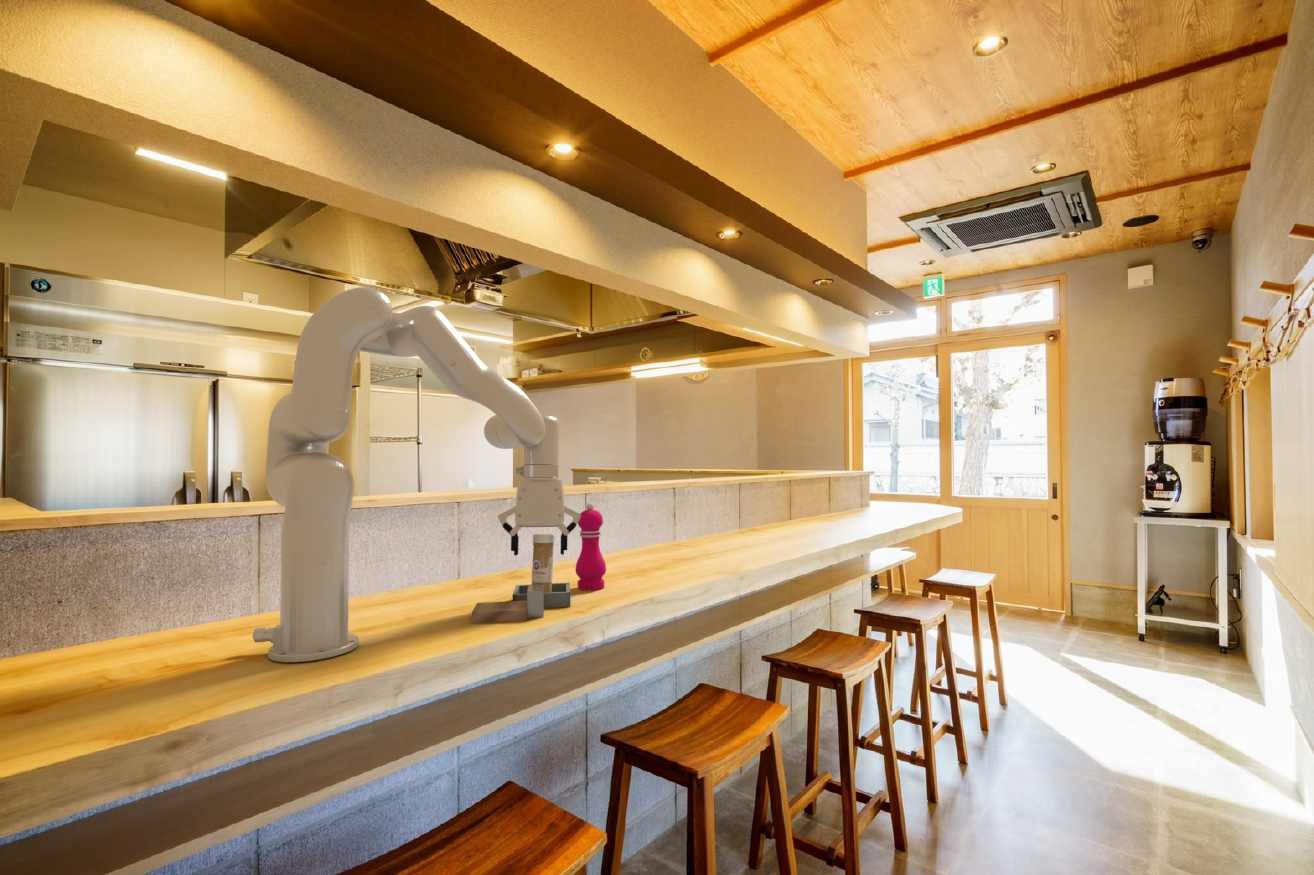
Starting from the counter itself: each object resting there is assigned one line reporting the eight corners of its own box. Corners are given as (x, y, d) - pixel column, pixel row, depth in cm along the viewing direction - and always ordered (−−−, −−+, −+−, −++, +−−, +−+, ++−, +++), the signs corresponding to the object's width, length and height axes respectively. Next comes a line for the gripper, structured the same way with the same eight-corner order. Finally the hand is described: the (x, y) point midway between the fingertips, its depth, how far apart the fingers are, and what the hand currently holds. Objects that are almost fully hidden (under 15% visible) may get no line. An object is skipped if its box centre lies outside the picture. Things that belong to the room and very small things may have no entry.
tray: (512, 609, 123) (512, 595, 123) (516, 598, 134) (515, 585, 134) (570, 606, 125) (570, 592, 125) (569, 595, 136) (569, 582, 136)
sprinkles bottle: (526, 598, 128) (529, 533, 129) (536, 596, 132) (538, 533, 134) (546, 599, 127) (549, 534, 128) (556, 596, 131) (558, 533, 133)
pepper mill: (608, 585, 147) (607, 501, 148) (603, 591, 140) (602, 503, 141) (579, 584, 148) (578, 502, 149) (572, 591, 141) (571, 504, 142)
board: (471, 626, 113) (471, 612, 113) (477, 615, 121) (477, 602, 121) (526, 623, 114) (526, 609, 115) (528, 612, 122) (528, 600, 122)
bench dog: (527, 618, 116) (527, 591, 116) (528, 610, 122) (528, 585, 122) (543, 617, 117) (543, 590, 117) (544, 609, 123) (543, 584, 123)
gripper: (497, 473, 125) (495, 557, 124) (582, 473, 128) (581, 555, 127) (500, 473, 133) (499, 552, 132) (580, 473, 136) (579, 551, 134)
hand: (539, 554), depth 129 cm, fingers open, 9 cm apart
